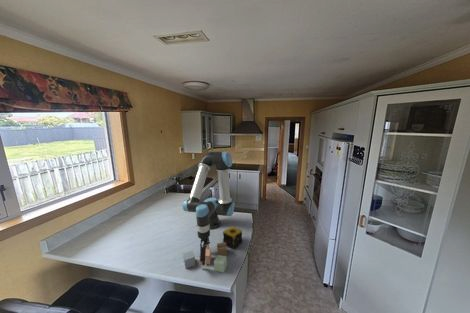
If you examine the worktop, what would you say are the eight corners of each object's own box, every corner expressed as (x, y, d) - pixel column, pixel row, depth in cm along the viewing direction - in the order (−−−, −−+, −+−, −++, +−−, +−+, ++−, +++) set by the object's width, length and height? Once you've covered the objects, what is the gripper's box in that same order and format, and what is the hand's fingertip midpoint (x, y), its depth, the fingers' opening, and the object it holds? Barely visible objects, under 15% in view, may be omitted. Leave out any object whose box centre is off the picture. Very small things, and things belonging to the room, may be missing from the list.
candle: (223, 244, 129) (222, 231, 127) (232, 237, 137) (231, 225, 135) (233, 250, 123) (232, 237, 121) (242, 242, 130) (242, 230, 128)
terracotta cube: (202, 257, 117) (201, 249, 116) (211, 257, 117) (210, 249, 116) (200, 264, 111) (199, 256, 110) (210, 264, 111) (209, 255, 110)
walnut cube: (217, 251, 122) (216, 243, 121) (226, 250, 123) (225, 242, 122) (218, 257, 116) (217, 249, 115) (227, 256, 117) (226, 248, 116)
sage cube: (217, 263, 112) (217, 254, 111) (227, 264, 110) (226, 256, 109) (214, 270, 106) (213, 261, 105) (223, 272, 104) (223, 263, 103)
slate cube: (184, 262, 114) (183, 253, 112) (193, 259, 116) (192, 250, 115) (185, 268, 108) (184, 260, 107) (195, 265, 111) (194, 256, 110)
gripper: (201, 219, 122) (203, 247, 126) (192, 243, 98) (195, 276, 102) (212, 219, 122) (214, 247, 126) (206, 242, 98) (209, 276, 102)
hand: (205, 260), depth 114 cm, fingers open, 12 cm apart
